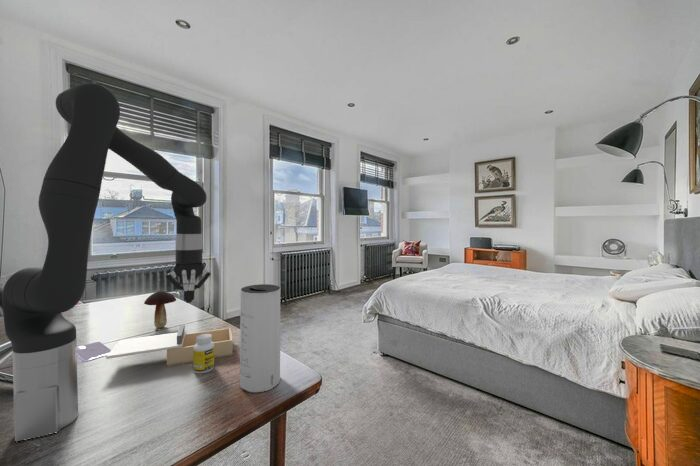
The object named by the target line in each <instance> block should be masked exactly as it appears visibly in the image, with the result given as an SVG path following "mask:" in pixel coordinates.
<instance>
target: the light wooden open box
mask: <svg viewBox="0 0 700 466" xmlns="http://www.w3.org/2000/svg"><path fill="white" fill-rule="evenodd" d="M202 334H211V335H212V340H211V341H212V342H213V343H214V360H215V359H221V358H227V357H232V356H233V354H234V353H233V335H232V328H231V327H226V328H219V329H214V330H213V329H211V330H206V331H205V330H204V331H198V332H190V333H186V334H185V338H184V341H183V345H182V347H181V348H174V349H168V350H166V367H167V368H168V367H169V368H170V367H174V366H179V365H180V366H181V365H185V364H191V363H193V349H194V345H195V344H197V343H196V337H197V336H199V335H202Z"/></svg>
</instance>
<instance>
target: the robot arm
mask: <svg viewBox="0 0 700 466" xmlns="http://www.w3.org/2000/svg"><path fill="white" fill-rule="evenodd" d="M55 108H56V110H57V112H58V114H59V115H60V117H61V118H62V119H63V120H64V121H65V122H66V123H67V124H68V125H69V124H70V125H69V126H70V127H69V131H68V134H67V136H66V138H65V141H63V144H62V145H61V146H60V148H59V150H58V152H57V153H56V154H55V155H54V157H53V158H52V160H51V161H50V164H49V165H48V166H47V169H46V171H45V174H44V177H43V180H42V184H41V189H40V192H39V196H38V209H39V214H40V217H41V220H42V222H43V224H44V227H45V230H46V234H47V239H48V243H47V251H46V255H45V260H44V262H43V263H44V264H43V266H32V267H26V268H25V267H24V268H22V269H20V270H18V271H16V272H14V273H13V274H12V275H11V276H10V277H8V279H7V281H6V282H5V284H4V286H3V288H2V294H1V295H2V297H1V303H2V315H3V316H2V317H3V323H4V332H5V335H6V337H7V339H8V340H9V342H10V343H11V348H12V349H11V351H12V355H11V356H12V385H13V386H12V387H13V418H14V419H13V420H14V421H13V422H14V423H13V424H14V427H13V428H14V442H15V441H18V440H24V439H28V438H34V437H38V438H40V437H39V436H42V435H46V434H49V433H55V432H58V431H59V432H60V431H61V430H62V429H64V428H65V427H67V426H69V425H70V424H71V423H72V422H74V421H75V420H76V419H77V417H78V415H79V395H78V394H79V391H78V390H79V389H78V386H79V385H78V359H77V358H78V356H77V347H78V346H77V328H76V325H75V324H73V323H72V322H70V321H69V320H68V319H66V318H65V317H64V316H63V313H65V312H68V311H70V310H71V309H73V308H74V307H76V305H77V304H78V303H80V301H81V299H82V297H83V295H84V293H85V289H86V285H87V276H88V275H87V274H88V262H89V260H88V259H89V249H90V242H91V236H92V230H93V225H94V220H95V219H94V218H95V216H96V215H95V214H96V211H97V207H98V203H99V197H100V194H101V189H102V183H103V177H104V172H105V169H106V164H107V157H108V152H109V150H110V151H111V152H113V153H114V154H116V155H118V156H119V157H121V158H122V159H123V160H125V161H126V162H127V163H128V164H130V165H131V166H133V167H134V168H136V169H137V170H138V171H139V172H140V173H142V174H143V175H144V176H145V177H147V179H149V180H150V181H152V182H153V183H154V184H155V185H156V186H157V187H159V188H161V189H163V190H166V191H171V196H170V203H171V206H172V210H173V214H174V217H175V220H176V226H175V227H176V228H175V230H176V232H175V234H176V236H175V242H174V243H175V248H174V250H175V265H174V267H173V271H171V272H169V273H167V274H166V275H165V278H166V279H167V280H168V281H169V282H170V283H171V284H172V285H173V286H174V287H175V288H176V289H177V290H181V291H183V300H184V302H186V304H189V303H192V302H193V301H194V299H195V290H197V289H200V288H201V287H202V286H203V285H204V283H205V282H206V281H207V280H208V279H209V277H210V276H211V271H208V270H206V269H205V266H204V264H203V248H204V247H203V246H204V244H203V236H202V231H203V229H202V218H201V217H200V216H198V215H196V214H195V211H194V208H200V207H202V206H203V205H205V203H206V202H207V193H206V191H205V190H204V188H203V187H202V186H201V185H200V184H199V183H197V182H196V181H194V180H193V179H191V178H190V177H189V176H187V175H185V174H183V173H182V172H180V171H179V170H178V169H176V167H175V166H174V165H172V164H171V163H170V162H169V161H168V160H167V159H166V158H165V157H164V156H162V155H161V154H160V153H159V152H157V151H155V150H154V149H152V148H151V147H148V146H147V145H145V144H143V143H141V142H139V141H137V140H136V139H134V138H132V137H131V136H129V135H128V134H127V133H125V132H123V131H122V130H121V129H120V128H119V127H118V123H119V120H120V118H121V117H120V116H121V107H120V104H119V101H118V99H117V97H116V96H115V94H114V93H113V92H112V91H111V90H110V89H109V88H107V87H106V86H104V85H101V84H98V83H92V82H88V83H81V84H77V85H75V86H72V87H71V88H70V87H69V88H68V89H66V90H64V91H62V92H60V93H59V94H58V95H56V98H55ZM200 275H202V277H201V278H200V280H199V281H198V282H197V283H196V280H197V279H198V278H199V277H200ZM177 277H178V278H179V279H180V280H182V283H181V282H179V281H178V279H177ZM189 281H190V282H189ZM189 284H190V285H189ZM63 427H64V428H63ZM61 428H62V429H61ZM59 432H58V433H59ZM34 439H35V438H34Z"/></svg>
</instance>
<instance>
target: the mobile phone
mask: <svg viewBox="0 0 700 466" xmlns="http://www.w3.org/2000/svg"><path fill="white" fill-rule="evenodd" d="M111 350H112V349H111V348H109V347H107V346H106V345H105V344H104V343H102V342H100V341H96V342H92V343H88V344H83V345H80V346H77V358H79V360H80V361H82V362H83V363H85V362H87V363H88V362H91V361H94V360H97V359H102V358H104V357H106V356H107V355H108V354H109V352H110V351H111Z"/></svg>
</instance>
